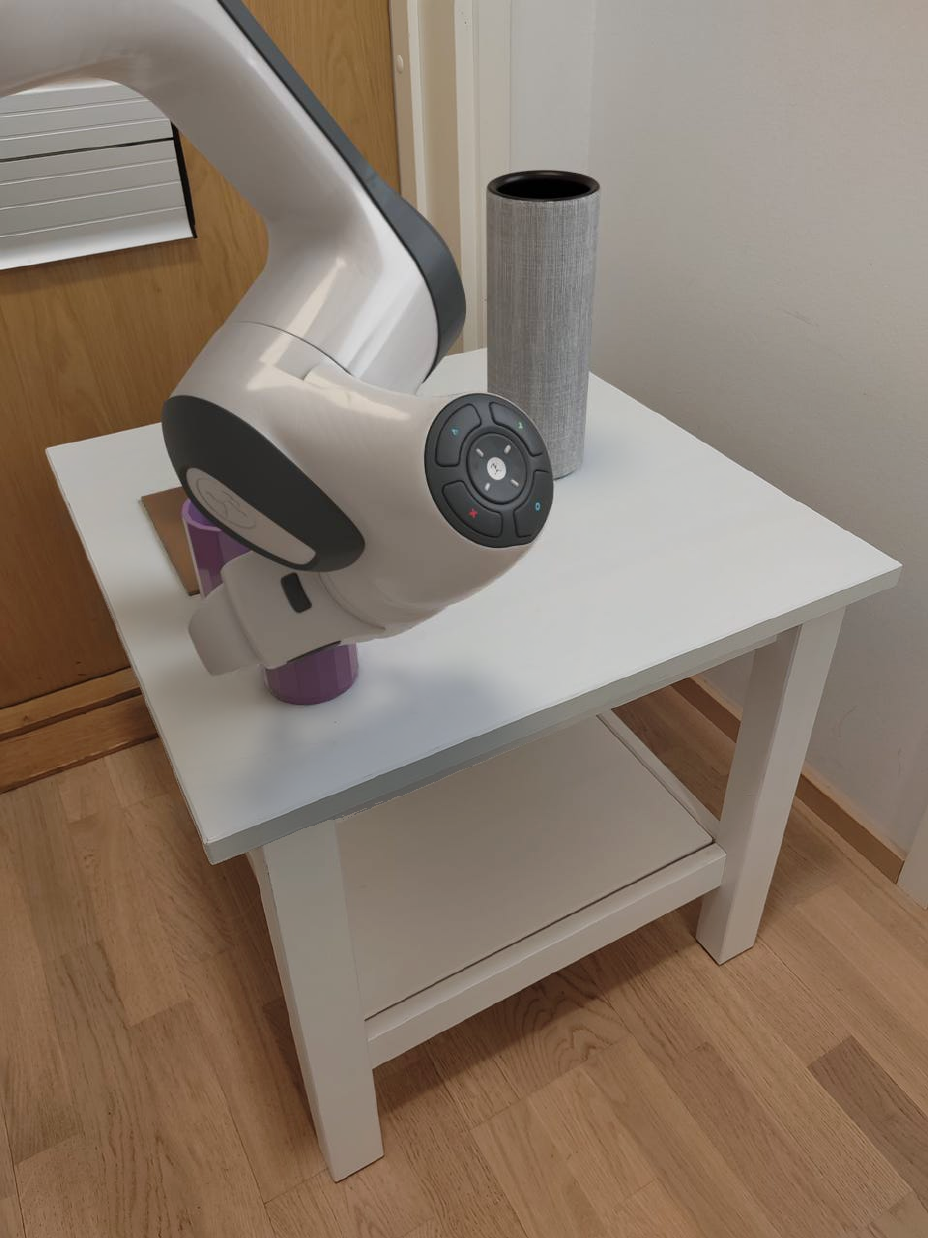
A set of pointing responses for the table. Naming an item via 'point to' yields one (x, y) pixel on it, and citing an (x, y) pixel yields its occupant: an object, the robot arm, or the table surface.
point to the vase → (543, 301)
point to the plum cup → (314, 676)
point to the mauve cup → (208, 548)
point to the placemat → (173, 532)
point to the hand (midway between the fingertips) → (316, 609)
